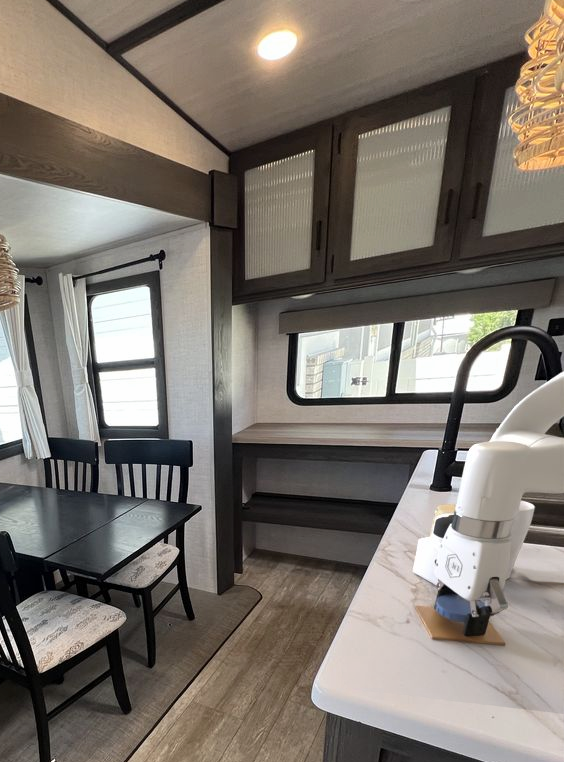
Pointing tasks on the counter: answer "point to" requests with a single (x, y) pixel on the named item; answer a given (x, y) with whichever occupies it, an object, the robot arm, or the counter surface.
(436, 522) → the container
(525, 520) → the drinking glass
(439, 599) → the lid
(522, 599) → the counter surface
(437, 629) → the cork coaster
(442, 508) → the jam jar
